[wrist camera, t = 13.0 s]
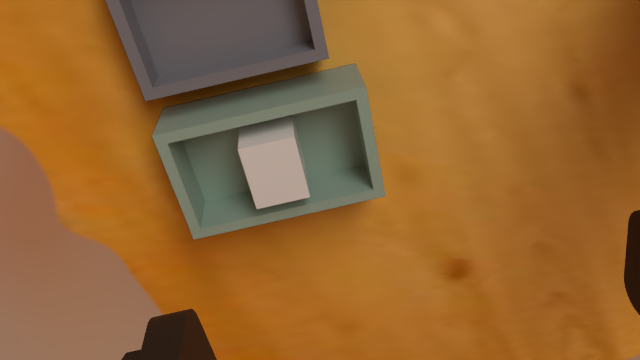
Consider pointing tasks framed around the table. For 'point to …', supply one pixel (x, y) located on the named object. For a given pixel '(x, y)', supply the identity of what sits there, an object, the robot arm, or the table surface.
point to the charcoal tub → (214, 40)
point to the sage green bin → (257, 106)
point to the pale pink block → (273, 161)
